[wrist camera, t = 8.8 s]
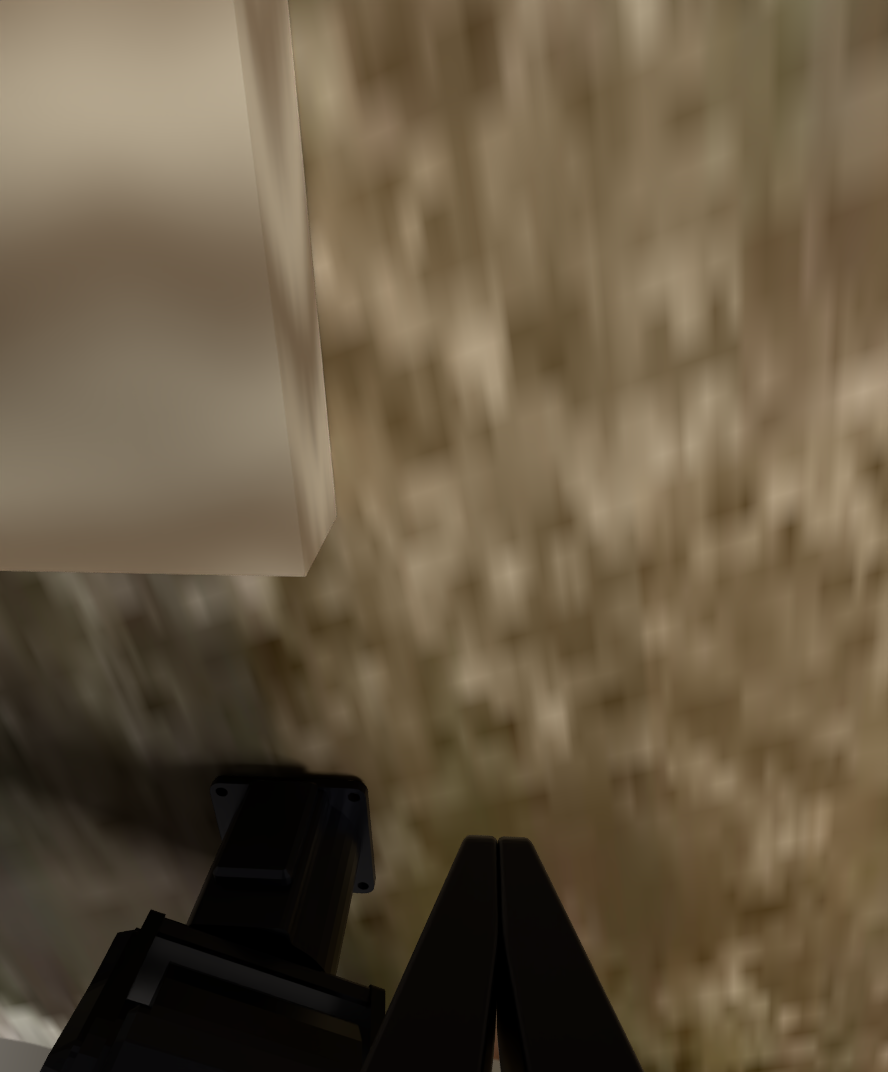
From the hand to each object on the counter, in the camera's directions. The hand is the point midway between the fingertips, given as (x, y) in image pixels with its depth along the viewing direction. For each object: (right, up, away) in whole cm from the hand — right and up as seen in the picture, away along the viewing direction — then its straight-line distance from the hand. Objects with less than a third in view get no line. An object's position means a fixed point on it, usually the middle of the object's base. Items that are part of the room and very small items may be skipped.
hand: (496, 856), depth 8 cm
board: (-12, +11, +10) cm, 19 cm away
